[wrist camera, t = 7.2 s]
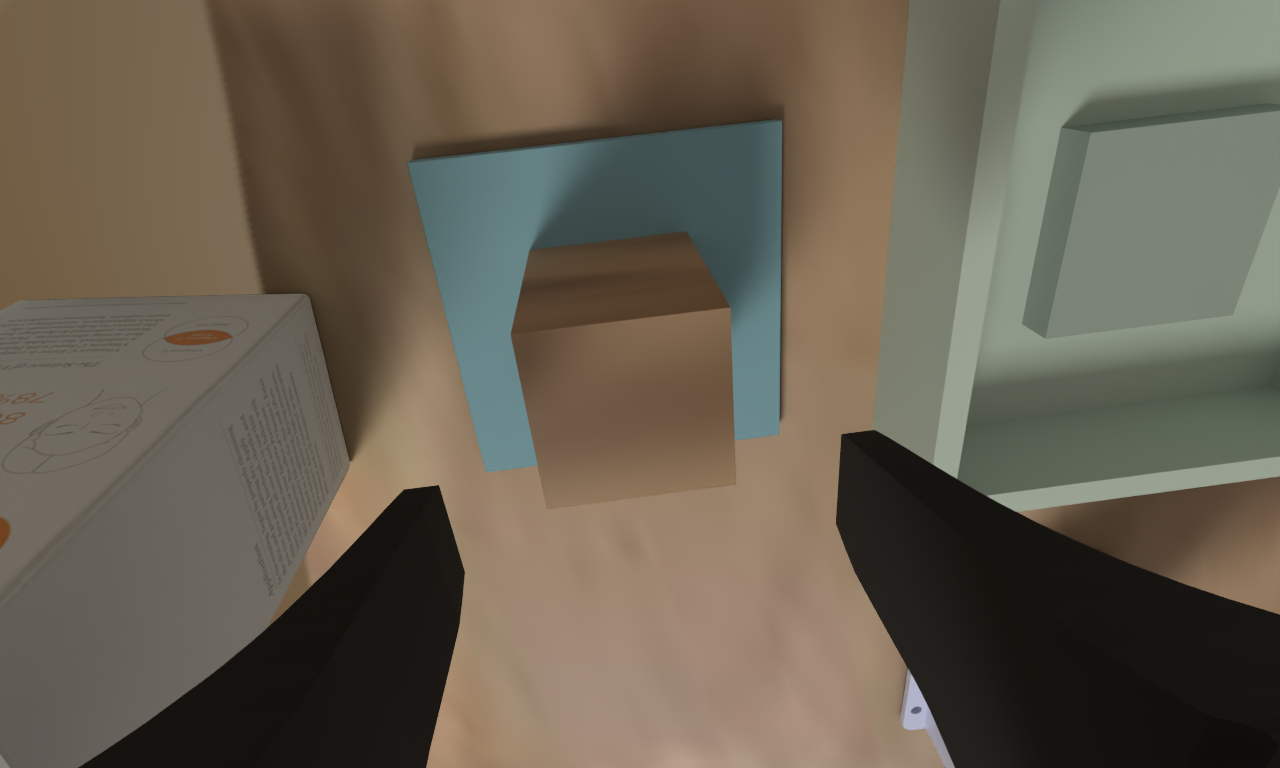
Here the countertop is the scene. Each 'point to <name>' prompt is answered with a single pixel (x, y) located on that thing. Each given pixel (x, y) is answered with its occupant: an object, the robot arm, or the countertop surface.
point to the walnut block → (625, 370)
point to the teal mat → (594, 212)
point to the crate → (1086, 247)
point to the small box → (149, 502)
